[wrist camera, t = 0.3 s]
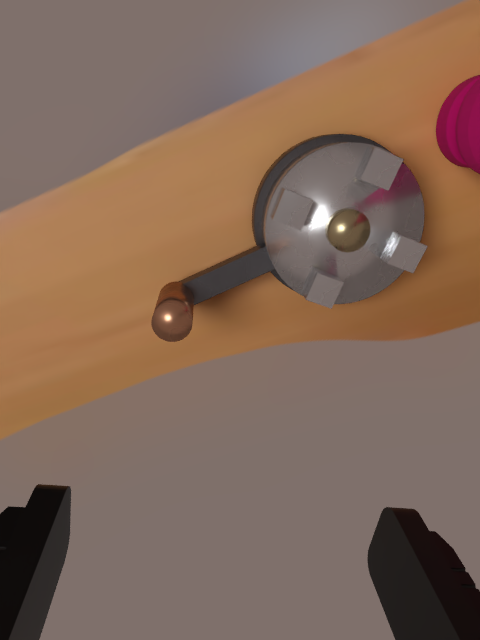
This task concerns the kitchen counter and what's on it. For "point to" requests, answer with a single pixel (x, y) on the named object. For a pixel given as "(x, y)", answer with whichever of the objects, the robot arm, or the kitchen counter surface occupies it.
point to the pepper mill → (461, 125)
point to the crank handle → (319, 234)
